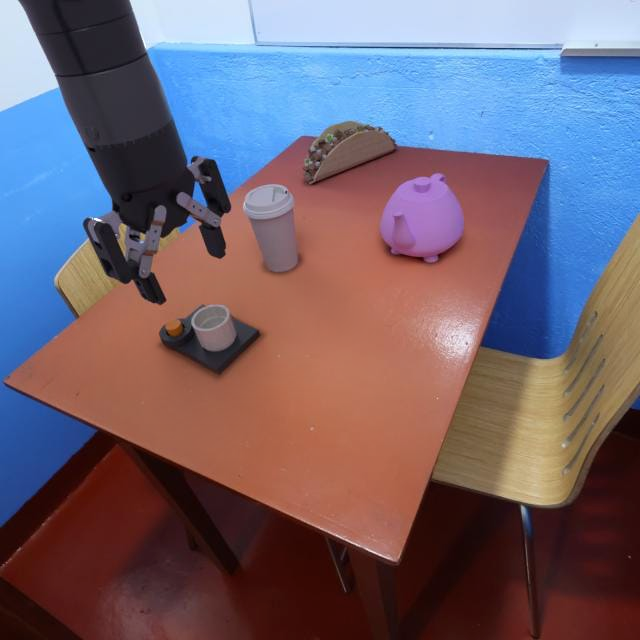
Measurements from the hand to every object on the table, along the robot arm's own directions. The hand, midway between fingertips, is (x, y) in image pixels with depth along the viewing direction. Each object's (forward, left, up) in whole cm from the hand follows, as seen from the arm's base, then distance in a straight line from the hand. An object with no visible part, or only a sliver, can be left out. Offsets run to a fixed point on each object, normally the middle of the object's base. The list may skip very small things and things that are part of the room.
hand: (189, 277), depth 50 cm
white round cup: (+9, +15, -25) cm, 30 cm away
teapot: (+48, -2, -26) cm, 55 cm away
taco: (+73, +30, -26) cm, 83 cm away
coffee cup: (+32, +20, -26) cm, 46 cm away
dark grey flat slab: (+9, +17, -26) cm, 32 cm away
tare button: (+6, +22, -23) cm, 32 cm away
